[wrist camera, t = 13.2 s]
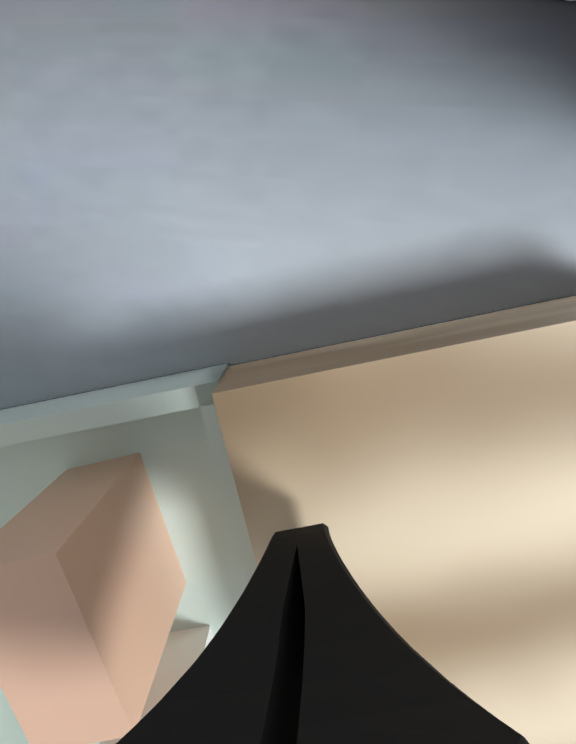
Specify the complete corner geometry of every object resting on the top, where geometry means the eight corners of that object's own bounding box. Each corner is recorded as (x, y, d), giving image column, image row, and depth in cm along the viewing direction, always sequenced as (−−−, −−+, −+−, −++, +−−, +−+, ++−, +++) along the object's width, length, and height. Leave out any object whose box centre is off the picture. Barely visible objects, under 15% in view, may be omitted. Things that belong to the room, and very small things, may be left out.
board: (635, 725, 17) (708, 822, 14) (329, 768, 17) (336, 870, 14) (623, 285, 13) (722, 291, 10) (229, 366, 13) (211, 393, 11)
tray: (330, 770, 17) (335, 841, 15) (71, 807, 18) (41, 880, 16) (228, 363, 13) (216, 381, 11) (-98, 429, 14) (-168, 459, 12)
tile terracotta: (134, 735, 10) (34, 753, 10) (186, 582, 15) (118, 596, 15) (55, 553, 9) (-56, 578, 9) (139, 452, 14) (66, 469, 14)
